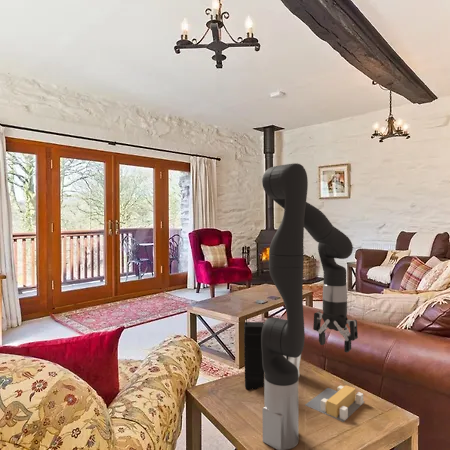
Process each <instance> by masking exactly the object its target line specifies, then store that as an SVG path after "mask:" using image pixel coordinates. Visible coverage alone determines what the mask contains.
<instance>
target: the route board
mask: <svg viewBox="0 0 450 450" xmlns="http://www.w3.org/2000/svg"><path fill="white" fill-rule="evenodd" d="M344 386H345V385H339V386H337V390H336V389H333V388H329V387H327V388H325V389H324V390H323V391H322V392H320V393H318V394H317V395H316V396H314V397H313V398H312V399H311V400H309V401H308V402H307V403H305V404H304V406H306V407H308V408H310V409H313V410H315V411H317V412H319V413H322V414H324V415H326V416H328V417H330V418H333V419H335V420H337V421H340V422H342V423H344V422H345V421H346V420H348V419H349V418H350V417H351V416H352V415H353V414H354V413H355V412H356V411H357V410H358V409H359V408H360V407H361V406H362V405H363V404H364V403H365V401H364V393H363V392H360V391H357V392H356V393H355V401H354V402H353V403H352V404H351V405H350V406H349V407H348V408H347V407H345V406H342V407H341V408H340V415H339V416H338V417H337V418H336V417H333V416H331V415H329V414H327V400H328V399H329V398H331V397H332V396H333V395H334V394H336V393H337V392H338V391H339V390H341V389H342V388H343V387H344Z"/></svg>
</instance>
